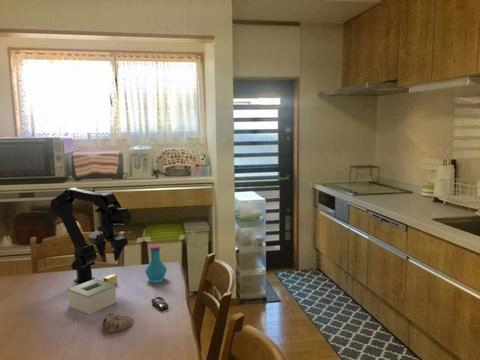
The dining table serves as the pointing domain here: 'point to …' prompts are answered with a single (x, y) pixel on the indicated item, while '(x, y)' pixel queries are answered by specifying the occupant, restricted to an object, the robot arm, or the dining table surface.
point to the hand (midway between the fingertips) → (109, 258)
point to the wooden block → (111, 279)
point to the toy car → (159, 303)
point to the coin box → (92, 296)
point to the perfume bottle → (155, 266)
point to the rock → (116, 322)
